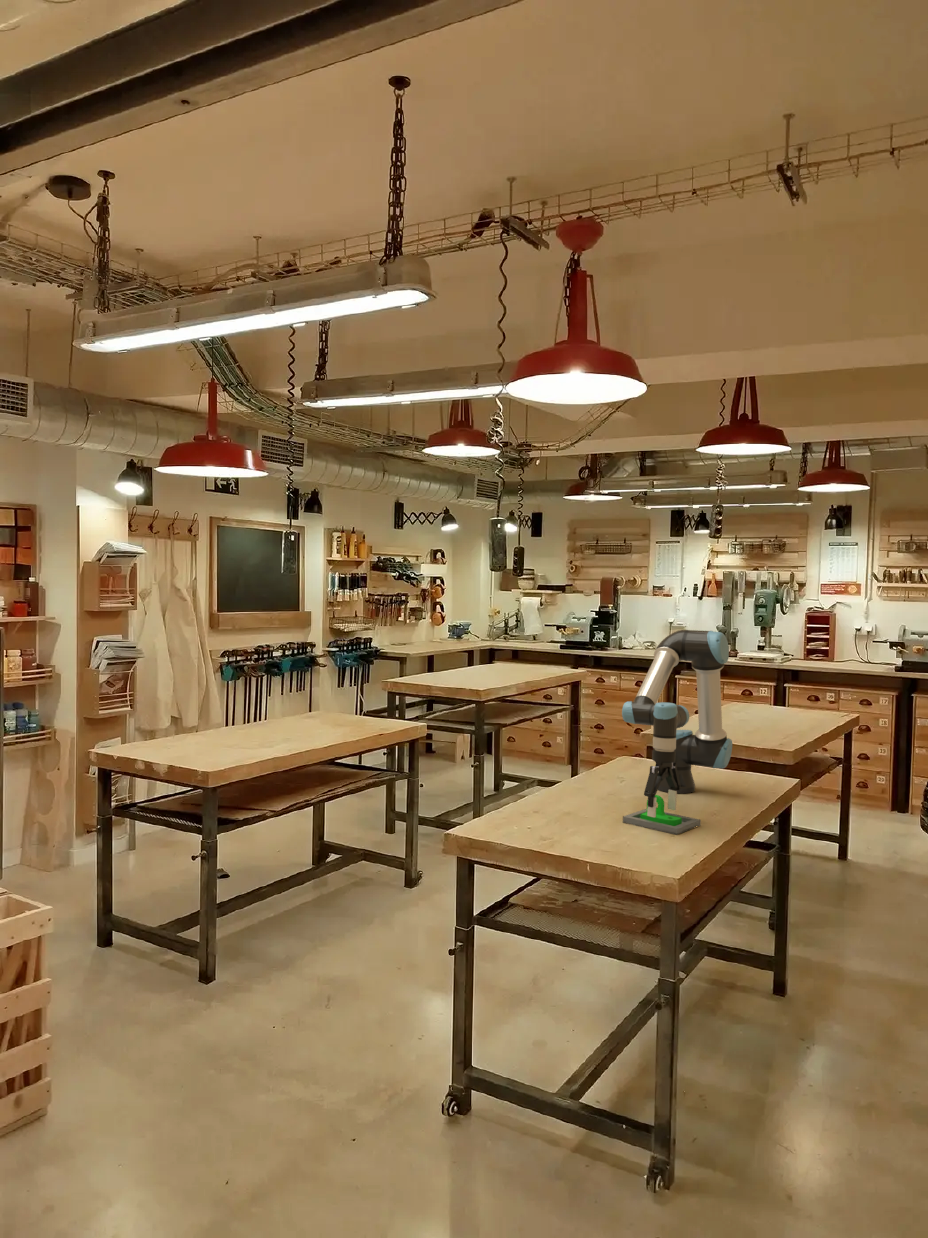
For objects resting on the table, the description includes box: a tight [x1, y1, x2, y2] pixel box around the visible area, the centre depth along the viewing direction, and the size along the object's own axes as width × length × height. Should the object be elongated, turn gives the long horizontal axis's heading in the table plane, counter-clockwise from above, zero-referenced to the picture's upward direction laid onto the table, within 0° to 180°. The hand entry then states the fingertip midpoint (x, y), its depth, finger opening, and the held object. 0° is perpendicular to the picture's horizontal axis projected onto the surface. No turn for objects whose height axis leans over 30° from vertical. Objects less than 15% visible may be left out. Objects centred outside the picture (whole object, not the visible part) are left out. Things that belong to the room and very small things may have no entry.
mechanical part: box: [640, 794, 682, 826], centre depth 292 cm, size 12×6×8 cm, turn 49°
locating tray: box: [622, 808, 702, 836], centre depth 292 cm, size 16×20×2 cm
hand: (661, 813), depth 292 cm, fingers open, 13 cm apart
